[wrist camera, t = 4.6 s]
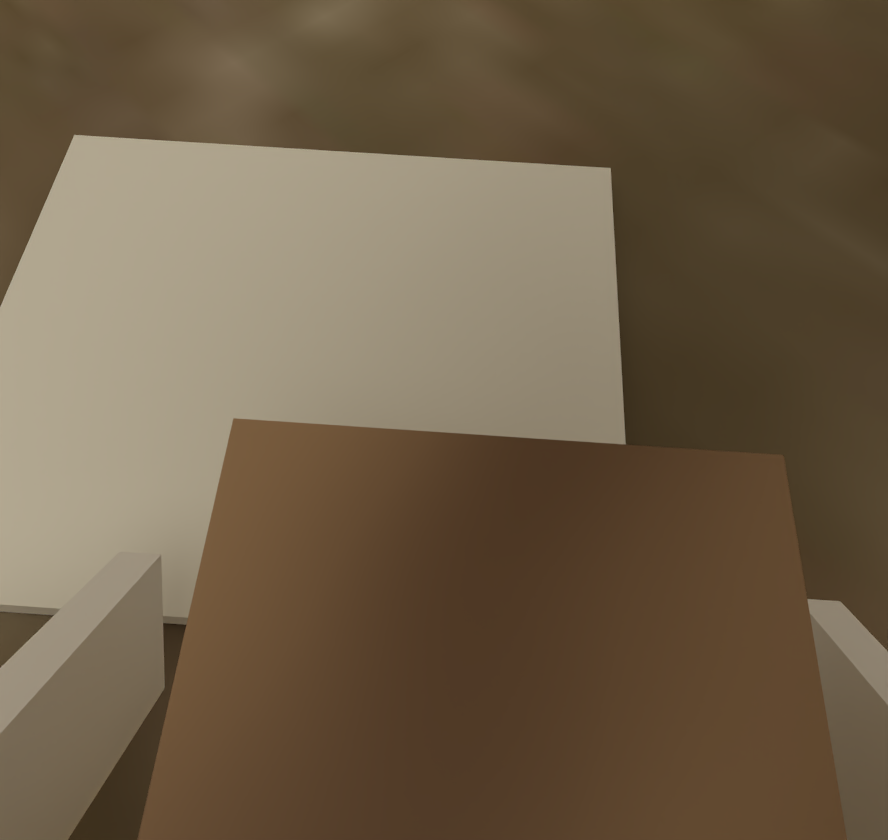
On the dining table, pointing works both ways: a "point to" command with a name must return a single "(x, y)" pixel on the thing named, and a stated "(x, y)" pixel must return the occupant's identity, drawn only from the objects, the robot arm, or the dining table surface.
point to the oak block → (494, 646)
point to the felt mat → (279, 331)
